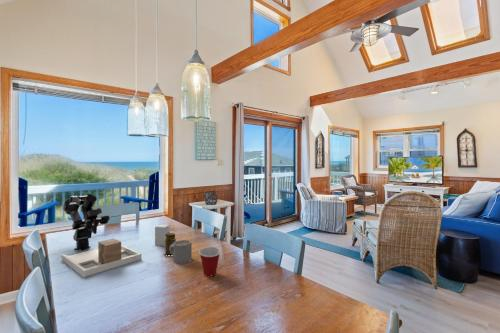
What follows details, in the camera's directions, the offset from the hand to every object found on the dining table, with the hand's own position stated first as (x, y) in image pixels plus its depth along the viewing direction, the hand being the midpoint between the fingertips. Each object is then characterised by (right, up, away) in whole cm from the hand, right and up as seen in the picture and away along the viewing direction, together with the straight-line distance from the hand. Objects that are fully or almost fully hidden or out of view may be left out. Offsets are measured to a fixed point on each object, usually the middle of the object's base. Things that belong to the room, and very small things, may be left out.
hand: (95, 233), depth 148 cm
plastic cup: (+71, -14, -23) cm, 76 cm away
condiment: (+43, -14, +4) cm, 45 cm away
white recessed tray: (+7, -14, -5) cm, 16 cm away
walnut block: (+15, -12, -12) cm, 23 cm away
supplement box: (+32, -13, +23) cm, 41 cm away
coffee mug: (+51, -14, -4) cm, 53 cm away
